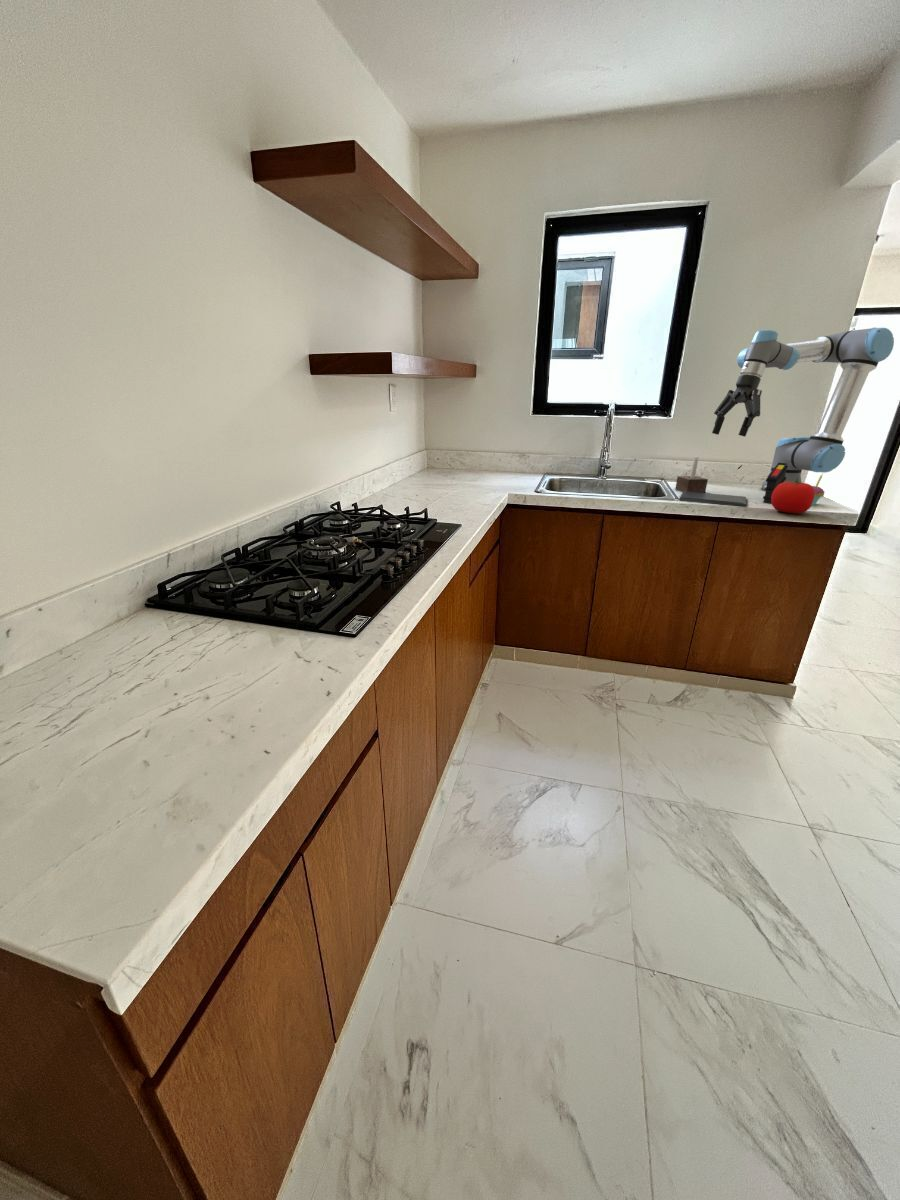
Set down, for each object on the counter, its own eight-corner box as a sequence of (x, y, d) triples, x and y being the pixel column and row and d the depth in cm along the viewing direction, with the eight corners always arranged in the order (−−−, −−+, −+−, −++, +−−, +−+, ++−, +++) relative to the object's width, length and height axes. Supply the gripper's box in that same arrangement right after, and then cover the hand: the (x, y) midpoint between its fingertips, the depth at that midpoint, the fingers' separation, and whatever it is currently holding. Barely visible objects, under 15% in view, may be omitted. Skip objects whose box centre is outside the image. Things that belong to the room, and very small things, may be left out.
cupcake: (815, 502, 203) (824, 472, 198) (824, 506, 195) (834, 475, 190) (792, 501, 205) (800, 471, 200) (800, 505, 197) (809, 474, 192)
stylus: (692, 491, 224) (698, 456, 219) (691, 491, 223) (698, 457, 217) (687, 490, 225) (694, 456, 219) (687, 491, 224) (694, 456, 218)
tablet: (745, 499, 208) (746, 496, 208) (745, 506, 195) (746, 503, 194) (683, 493, 219) (683, 490, 218) (679, 500, 205) (679, 497, 205)
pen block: (693, 489, 229) (695, 475, 226) (705, 492, 221) (708, 479, 218) (675, 489, 228) (677, 476, 225) (686, 493, 219) (689, 479, 217)
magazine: (784, 494, 208) (788, 463, 199) (771, 512, 203) (774, 480, 194) (774, 493, 211) (777, 462, 201) (761, 511, 205) (764, 479, 196)
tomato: (813, 512, 186) (822, 480, 181) (803, 518, 177) (813, 485, 172) (774, 507, 194) (782, 476, 190) (763, 512, 185) (771, 480, 181)
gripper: (717, 375, 196) (697, 431, 202) (770, 371, 174) (746, 434, 180) (732, 380, 198) (712, 435, 205) (786, 377, 176) (761, 438, 182)
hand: (728, 434), depth 192 cm, fingers open, 13 cm apart
